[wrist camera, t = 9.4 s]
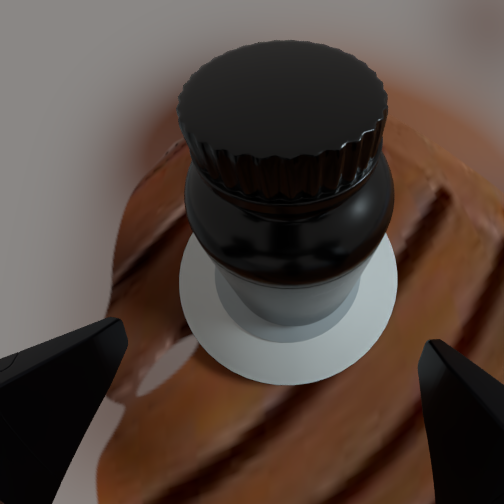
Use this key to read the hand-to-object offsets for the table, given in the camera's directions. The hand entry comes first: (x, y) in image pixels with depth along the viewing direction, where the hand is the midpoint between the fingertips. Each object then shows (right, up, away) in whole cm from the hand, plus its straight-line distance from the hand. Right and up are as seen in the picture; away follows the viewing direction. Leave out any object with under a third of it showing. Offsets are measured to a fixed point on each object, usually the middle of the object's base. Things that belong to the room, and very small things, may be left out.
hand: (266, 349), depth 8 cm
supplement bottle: (+2, +1, +9) cm, 9 cm away
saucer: (+2, +1, +10) cm, 11 cm away
